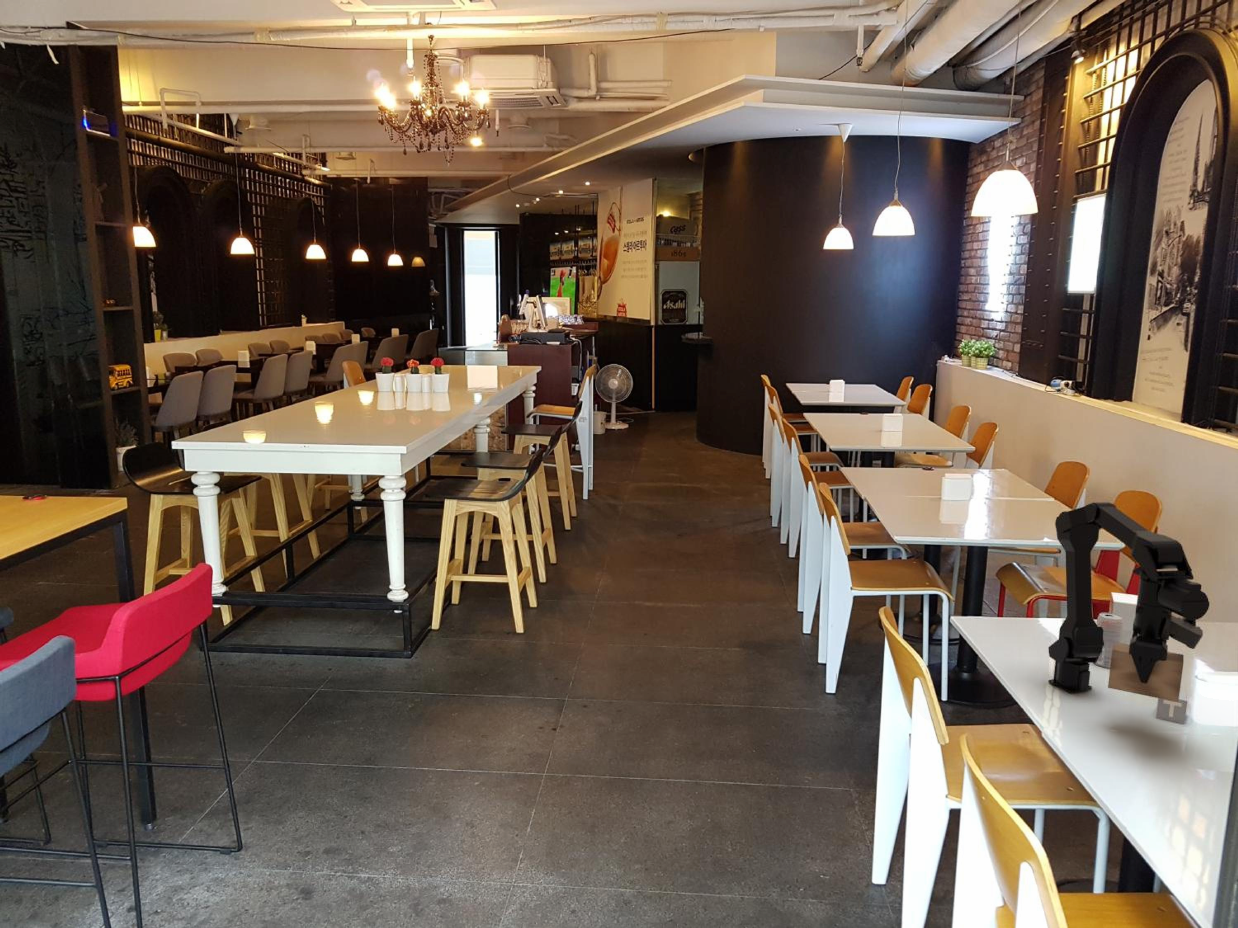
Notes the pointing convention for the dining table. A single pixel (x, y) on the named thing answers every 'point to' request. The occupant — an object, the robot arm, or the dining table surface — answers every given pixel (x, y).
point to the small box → (1124, 612)
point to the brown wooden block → (1161, 679)
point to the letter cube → (1173, 709)
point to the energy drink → (1109, 636)
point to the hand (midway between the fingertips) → (1144, 678)
